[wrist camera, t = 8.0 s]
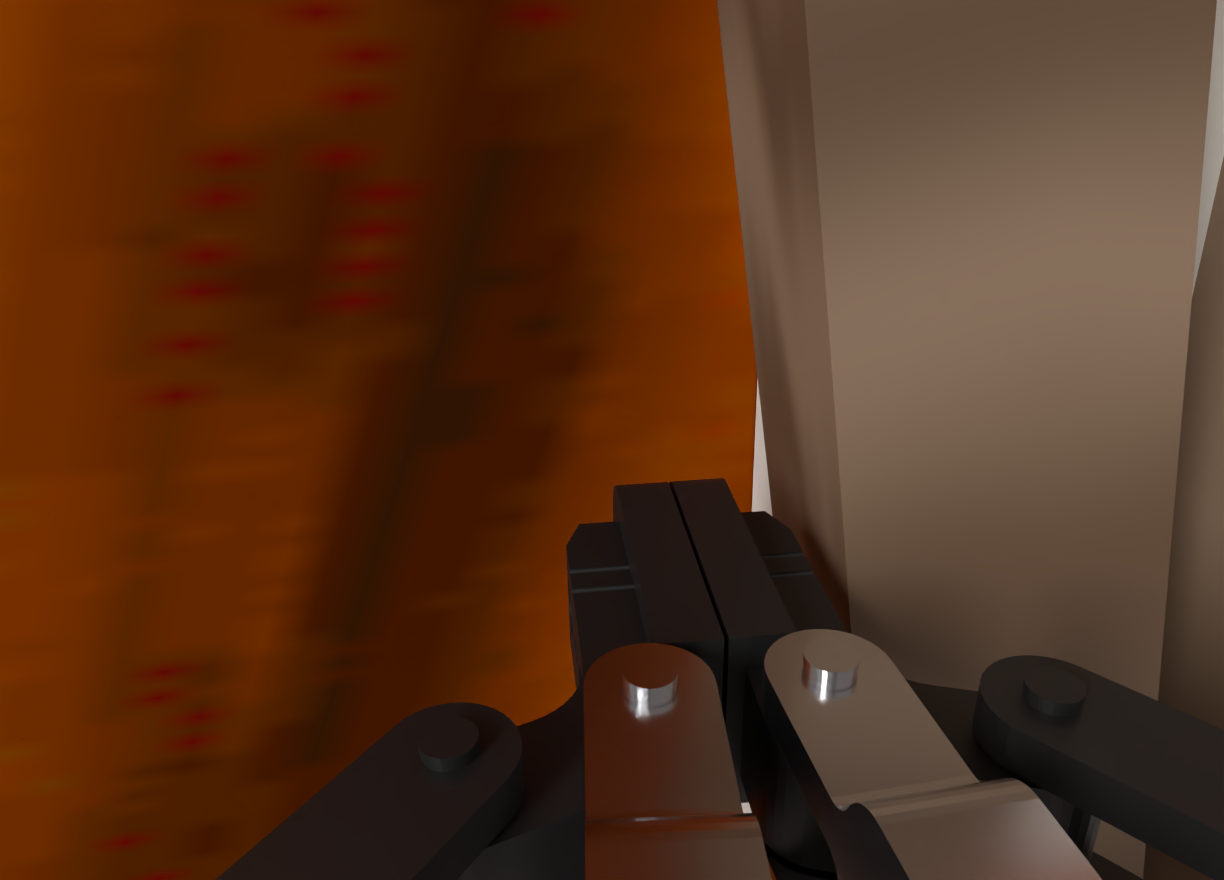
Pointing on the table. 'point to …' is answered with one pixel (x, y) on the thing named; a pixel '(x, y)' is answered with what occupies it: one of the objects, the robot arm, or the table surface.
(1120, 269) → the hinged leg
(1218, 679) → the slatted block on base
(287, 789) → the table surface
